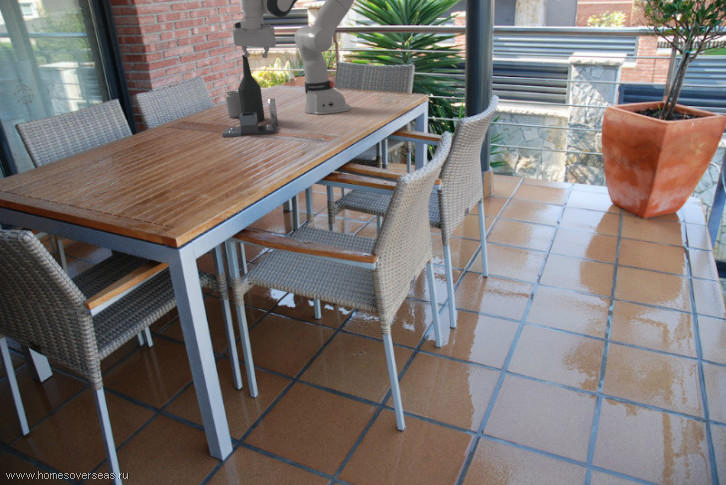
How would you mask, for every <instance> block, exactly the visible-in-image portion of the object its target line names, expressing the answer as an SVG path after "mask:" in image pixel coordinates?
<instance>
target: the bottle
mask: <svg viewBox="0 0 726 485" xmlns="http://www.w3.org/2000/svg"><path fill="white" fill-rule="evenodd" d="M241 57H242V72H243V73H242V76H243V77H242V78H241V81H240V83H239V85H238V89H237V91H238V92H239V98H240V105H241V112H242V113H249V112H256V114H257V121H258V123H261V122H263V121H264V120H265V110H264V103H263V102H264V101H263V97H262V96H263V95H262V87H261V86H260V85H259V83H258V82H257V81H256V79H255V78H254V77H253V75H252V71H251V67H250V64H249V59H248V58H249V57H245V54H243V55H242V56H241Z"/></svg>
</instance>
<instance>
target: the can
mask: <svg viewBox="0 0 726 485" xmlns="http://www.w3.org/2000/svg"><path fill="white" fill-rule="evenodd" d="M224 97H225V102H226V109H227V115H228V117H230V118H232V119H236V118H237V119H238V118H239V116H240V114H241V113H242V112H241V105H240V98H239V92H238V90H232V91H227V92H226V94H225V96H224Z"/></svg>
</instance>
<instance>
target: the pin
mask: <svg viewBox="0 0 726 485" xmlns="http://www.w3.org/2000/svg"><path fill="white" fill-rule="evenodd" d="M267 102H268V110H269V117H270V122H271V123H270V125H275V124H277V127H279V122H278V121H279V120H278V113H277V106H276V99H275V97H274V98H272V97H271V98H268V99H267Z"/></svg>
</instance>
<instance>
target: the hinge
mask: <svg viewBox="0 0 726 485" xmlns="http://www.w3.org/2000/svg"><path fill="white" fill-rule="evenodd" d="M238 118H239V123H240V124H239V126H238V127H237V126H235V127H226V128H225V129H223V132H222V135H221V136H222V138H229V137H230V138H231V137H242V136H243V135H257V136H259V135H270V134H271V135H272V134H276V133H277V129H278V126H277V124H275V125H271V124H263V125H259V122H258V121H257V114H256V112H249V113H241V114H240V116H239V117H238Z"/></svg>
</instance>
